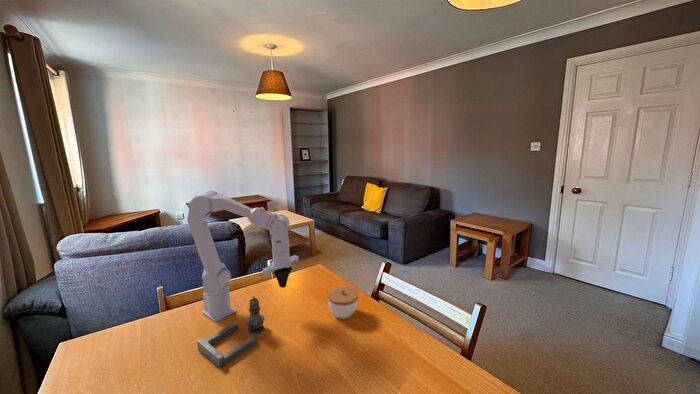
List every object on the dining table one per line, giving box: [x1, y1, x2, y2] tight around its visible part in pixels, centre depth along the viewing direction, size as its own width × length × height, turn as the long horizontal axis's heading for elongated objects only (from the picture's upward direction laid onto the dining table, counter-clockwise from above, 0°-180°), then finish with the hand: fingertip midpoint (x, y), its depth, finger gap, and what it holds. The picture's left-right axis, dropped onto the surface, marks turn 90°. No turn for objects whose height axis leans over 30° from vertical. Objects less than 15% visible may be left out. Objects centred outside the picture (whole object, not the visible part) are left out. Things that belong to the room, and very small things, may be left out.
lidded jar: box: [327, 286, 359, 320], centre depth 102 cm, size 11×11×9 cm
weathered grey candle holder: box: [245, 295, 266, 336], centre depth 93 cm, size 6×6×12 cm
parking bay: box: [196, 322, 259, 369], centre depth 86 cm, size 12×12×3 cm
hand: (282, 286), depth 102 cm, fingers closed
